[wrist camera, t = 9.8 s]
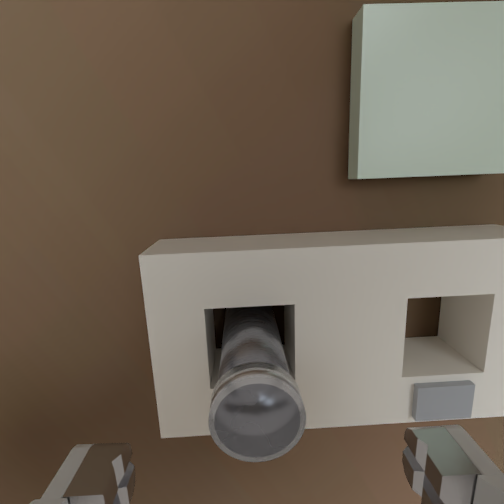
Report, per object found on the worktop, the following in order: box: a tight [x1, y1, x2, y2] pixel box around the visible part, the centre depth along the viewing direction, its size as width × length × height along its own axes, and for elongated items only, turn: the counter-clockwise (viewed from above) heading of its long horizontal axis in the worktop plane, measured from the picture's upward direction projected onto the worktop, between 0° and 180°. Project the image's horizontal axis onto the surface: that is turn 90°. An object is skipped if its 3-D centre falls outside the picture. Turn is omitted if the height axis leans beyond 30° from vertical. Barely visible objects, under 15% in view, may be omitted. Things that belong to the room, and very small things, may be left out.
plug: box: [208, 306, 306, 462], centre depth 15 cm, size 3×3×9 cm
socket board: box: [139, 224, 504, 438], centre depth 18 cm, size 20×10×4 cm, turn 92°
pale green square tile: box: [348, 1, 504, 179], centre depth 17 cm, size 8×8×2 cm
